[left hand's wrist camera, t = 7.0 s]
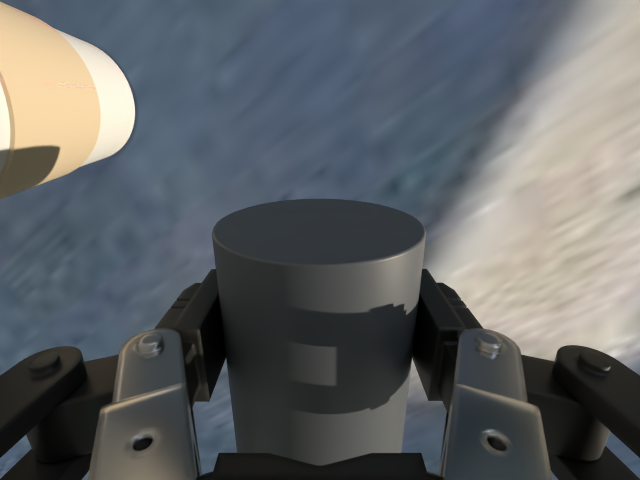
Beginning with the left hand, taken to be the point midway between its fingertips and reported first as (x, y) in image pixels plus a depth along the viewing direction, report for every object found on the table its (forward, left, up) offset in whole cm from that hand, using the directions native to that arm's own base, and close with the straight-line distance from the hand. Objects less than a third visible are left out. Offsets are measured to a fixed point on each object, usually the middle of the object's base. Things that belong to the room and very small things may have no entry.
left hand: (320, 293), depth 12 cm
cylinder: (-4, +8, -1) cm, 9 cm away
